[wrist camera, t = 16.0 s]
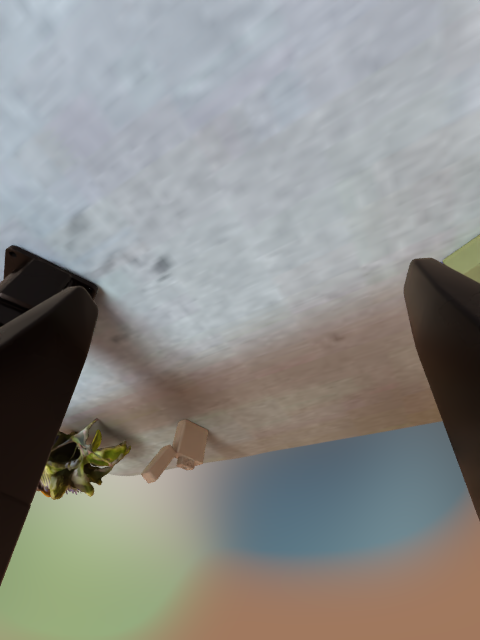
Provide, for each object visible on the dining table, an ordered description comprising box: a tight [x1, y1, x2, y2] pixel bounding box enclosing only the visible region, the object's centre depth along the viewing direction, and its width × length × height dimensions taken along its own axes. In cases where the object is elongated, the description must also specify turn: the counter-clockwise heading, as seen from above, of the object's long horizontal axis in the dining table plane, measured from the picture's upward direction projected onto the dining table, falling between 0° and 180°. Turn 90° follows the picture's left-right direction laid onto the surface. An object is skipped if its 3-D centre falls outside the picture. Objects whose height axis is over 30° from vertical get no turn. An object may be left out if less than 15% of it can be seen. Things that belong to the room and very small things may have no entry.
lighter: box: [141, 419, 208, 483], centre depth 37 cm, size 7×2×8 cm, turn 45°
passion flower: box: [36, 419, 131, 500], centre depth 42 cm, size 11×11×12 cm
